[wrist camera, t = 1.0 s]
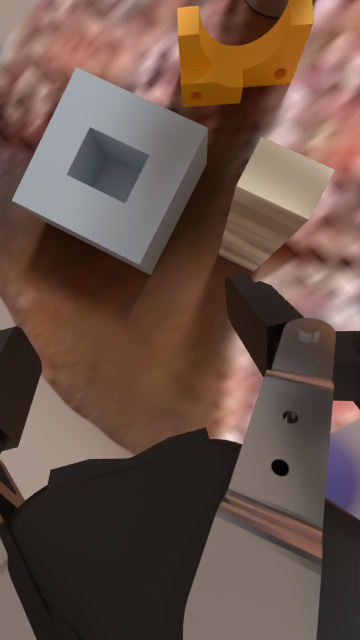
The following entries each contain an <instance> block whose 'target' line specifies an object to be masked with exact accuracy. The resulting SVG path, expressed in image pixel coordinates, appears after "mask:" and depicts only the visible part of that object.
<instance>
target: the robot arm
mask: <svg viewBox="0 0 360 640" xmlns="http://www.w3.org/2000/svg"><path fill="white" fill-rule="evenodd" d="M246 1H247V3H248V4H249V5H250V6H251V7H252V8H253V9H254V10H256V11H258V12H259V13H261V14H264V15H267V16H270V17H281V16H282V14H283V13H284V11H285V9H286V7H287V4H288V1H289V0H246ZM313 1H314V0H312V2H313ZM225 287H226V300H227V311H228V316H229V320H230V322H231V325H232V326H233V328H234V330H235V331H236V333H237V334H238V336H239V338H240V339H241V341H242V343H243V344H244V346H245V348H246V349H247V351H248V353H249V354H250V356H251V358H252V359H253V361H254V362H255V364H256V366H257V367H258V369H259V371H260V372H261V374H262V376H263V377H264V379H263V382H262V385H261V388H260V392H259V395H258V398H257V401H256V404H255V407H254V410H253V413H252V416H251V420H250V423H249V426H248V429H247V432H246V435H245V438H244V441H243V444H239V443H237V442H233V441H228V440H221V439H209V436H208V433H207V430H206V428H202V429H198V430H195V431H191V432H187V433H184V434H180V435H176V436H173V437H169V438H167V439H165V440H163V441H161V442H160V443H158V444H156V445H154V446H152V447H150V448H148V449H147V450H145V451H143V452H141V453H139V454H137V455H136V456H134V457H131V458H126V459H89V460H85V461H81V462H78V463H74V464H70V465H67V466H63V467H59V468H56V469H52V470H50V476H49V481H48V485H47V486H45V487H43V488H42V489H40V490H39V491H37V492H36V493H34V494H33V495H32V496H31V497H29V498H28V499H27V500H24V498H23V496H22V495H21V493H20V491H19V489H18V487H17V486H16V484H15V482H14V481H13V479H12V477H11V475H10V474H9V472H8V470H7V468H6V467H5V465H4V463H2V461H1V460H0V640H360V520H359V519H357V518H356V517H355V516H353V515H352V514H350V513H348V512H347V511H346V510H344V509H342V508H341V507H339V506H338V505H337V504H335V503H333V502H332V501H331V500H329V499H327V498H326V497H325V492H326V480H327V467H328V454H329V441H330V430H331V417H332V404H333V401H353V402H354V403H355V404H356V406H357V407H358V408H359V409H360V331H335V330H334V329H333V327H332V326H331V325H329V324H328V323H326V322H324V321H321V320H318V319H313V318H304V317H303V316H302V315H301V314H300V313H299V312H298V311H297V310H296V309H295V308H294V307H293V306H292V305H291V304H290V303H289V302H288V301H287V300H285V299H284V297H283V296H282V295H281V294H279V293H278V292H277V291H276V290H275V289H274V288H273V287H272V286H271V285H269V284H266V283H264V282H261V281H259V282H254V281H253V280H252V279H251V278H250V277H249V276H248V275H247V274H246V273H245V272H243V273H239V274H235V275H231V276H227V277H226V278H225ZM41 372H42V364H41V360H40V358H39V356H38V354H37V352H36V351H35V349H34V348H33V346H32V344H31V343H30V341H29V339H28V338H27V336H26V335H25V333H24V331H23V330H22V329H21V328H20V327H13V328H8V329H4V330H0V453H1V451H5V450H8V449H12V448H16V447H18V445H19V442H20V439H21V436H22V432H23V429H24V426H25V423H26V420H27V417H28V413H29V410H30V406H31V404H32V401H33V397H34V394H35V391H36V388H37V385H38V381H39V378H40V375H41Z"/></svg>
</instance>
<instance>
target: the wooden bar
mask: <svg viewBox="0 0 360 640" xmlns="http://www.w3.org/2000/svg"><path fill="white" fill-rule="evenodd" d="M334 171H335V170H334V169H331V168H329V167H327V166H325V165H323V164H320V163H318V162H316V161H314V160H312V159H309V158H307V157H305V156H303V155H301V154H298V153H296V152H294V151H292V150H290V149H287V148H285V147H283V146H281V145H278V144H276V143H274V142H272V141H270V140H267V139H265V138H263V137H261V138H260V140H259V142H258V144H257V146H256V148H255V150H254V152H253V154H252V156H251V158H250V160H249V162H248V164H247V166H246V168H245V170H244V172H243V174H242V176H241V178H240V180H239V182H238V184H237V185H236V189H235V193H234V197H233V200H232V204H231V208H230V212H229V215H228V219H227V223H226V227H225V231H224V234H223V238H222V242H221V246H220V249H219V253H218V255H220V256H222V257H224V258H226V259H228V260H230V261H232V262H234V263H237V264H239V265H241V266H243V267H245V268H247V269H249V270H251V271H253V272H254V271H255V270H256V269H257V268H258V267H259V266H260V265H261V264H262V263H263V262H265V261H266V260H267V259H268V258H269V257H270V256H271V255H272V254H273V253H274V252H275V251H276V250H277V249H278V248H279V247H281V246H282V245H283V244H284V243H285V242H286V241H287V240H288V239H289V238H290V237H291V236H292V235H293V234H294V233H295V232H297V231H298V230H299V229H300V228H301V227H302V226H303V225H304V224H305V223H306V222H307V221H308V220H309V219H310V217H311V215H312V213H313V211H314V209H315V207H316V205H317V203H318V201H319V200H320V198H321V196H322V194H323V192H324V190H325V188H326V186H327V184H328V182H329V180H330V178H331V176H332V175H333V173H334Z"/></svg>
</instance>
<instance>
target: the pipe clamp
mask: <svg viewBox="0 0 360 640" xmlns="http://www.w3.org/2000/svg"><path fill="white" fill-rule="evenodd" d="M312 25H313V2H312V0H289V1H288V4H287V7H286V9H285V11H284V13H283V14H282V16H281V18H280V19H279V20H278V22H277V23H276V24H275V25H274V27H273V28H272V29H271V30H270V31H268V32H267V33H266V34H265V35H263V36H262V37H261V38H259V39H257V40H255V41H253V42H251V43H248V44H245V45H239V46H230V45H225V44H222V43H219V42H217V41H216V40H214V39H213V38H212V37H211V36H210V35H209V34H208V33H207V32H206V30H205V29H204V27H203V25H202V22H201V19H200V14H199V6H192V7H182V8H178V41H179V54H180V67H181V93H182V105H183V107H193V106H207V105H221V104H235V103H240V100H241V95H242V89H243V87H254V86H267V85H280V84H290V83H291V80H292V78H293V75H294V72H295V70H296V67H297V64H298V62H299V59H300V57H301V54H302V51H303V49H304V46H305V43H306V41H307V38H308V35H309V33H310V30H311V28H312Z"/></svg>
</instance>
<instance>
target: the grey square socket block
mask: <svg viewBox="0 0 360 640" xmlns="http://www.w3.org/2000/svg"><path fill="white" fill-rule="evenodd" d="M207 143H208V128H207V127H205V126H203V125H201V124H198V123H196V122H194V121H192V120H190V119H188V118H185V117H183V116H181V115H179V114H177V113H174V112H172V111H170V110H168V109H166V108H164V107H161V106H159V105H157V104H155V103H153V102H150V101H148V100H146V99H144V98H142V97H140V96H137V95H135V94H133V93H131V92H129V91H126V90H124V89H122V88H120V87H118V86H116V85H113V84H111V83H109V82H107V81H105V80H102V79H100V78H98V77H96V76H94V75H92V74H89V73H87V72H85V71H83V70H81V69H78V68H76V69H75V71H74V73H73V75H72V78H71V80H70V82H69V84H68V86H67V88H66V90H65V92H64V94H63V96H62V98H61V100H60V102H59V104H58V106H57V108H56V110H55V113H54V115H53V117H52V119H51V121H50V123H49V125H48V127H47V129H46V131H45V133H44V135H43V137H42V139H41V141H40V143H39V146H38V148H37V150H36V152H35V154H34V156H33V158H32V160H31V162H30V164H29V166H28V168H27V170H26V172H25V174H24V176H23V178H22V181H21V183H20V185H19V187H18V189H17V191H16V193H15V195H14V197H13V199H12V201H14V202H15V203H17V204H18V205H20V206H21V207H23V208H24V209H26V210H28V211H29V212H31V213H32V214H34V215H35V216H37V217H38V218H40V219H42V220H43V221H45V222H46V223H48V224H50V225H52V226H54V227H56V228H58V229H60V230H62V231H64V232H66V233H68V234H70V235H72V236H74V237H76V238H78V239H80V240H82V241H84V242H86V243H88V244H90V245H92V246H94V247H96V248H98V249H100V250H102V251H104V252H106V253H108V254H110V255H112V256H114V257H116V258H118V259H120V260H122V261H123V262H125V263H127V264H129V265H131V266H133V267H135V268H137V269H139V270H141V271H143V272H145V273H147V274H149V275H151V274H152V272H153V270H154V268H155V266H156V264H157V262H158V260H159V258H160V256H161V254H162V252H163V250H164V248H165V246H166V244H167V242H168V240H169V238H170V236H171V234H172V232H173V230H174V228H175V226H176V224H177V222H178V220H179V218H180V216H181V214H182V212H183V210H184V208H185V206H186V204H187V202H188V200H189V198H190V196H191V194H192V192H193V190H194V188H195V186H196V184H197V183H198V181H199V179H200V177H201V175H202V173H203V171H204V169H205V167H206V165H207Z"/></svg>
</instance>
